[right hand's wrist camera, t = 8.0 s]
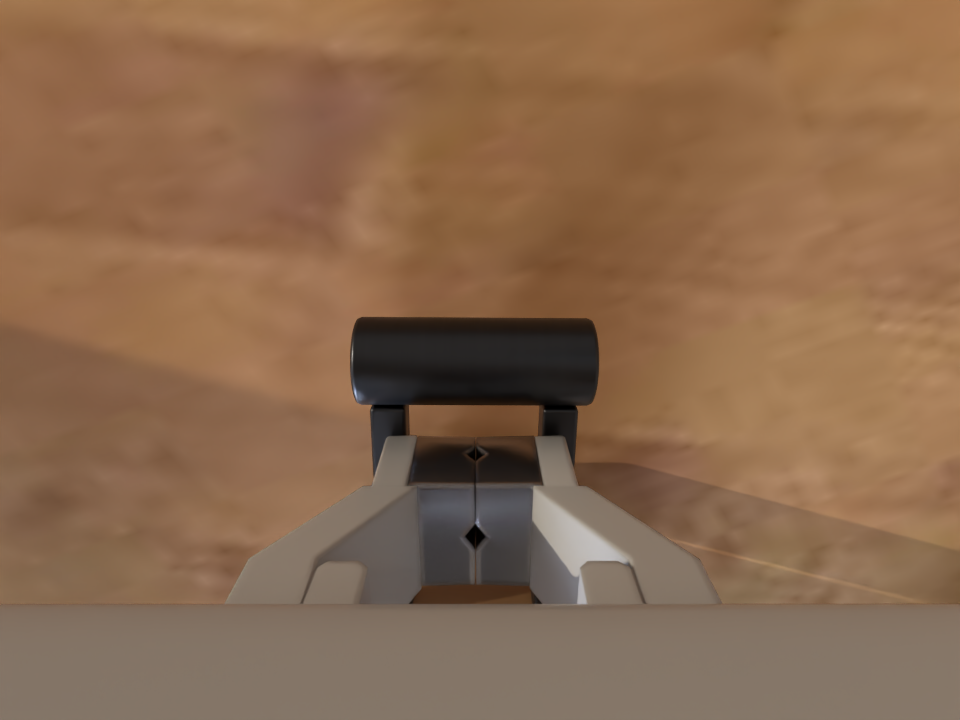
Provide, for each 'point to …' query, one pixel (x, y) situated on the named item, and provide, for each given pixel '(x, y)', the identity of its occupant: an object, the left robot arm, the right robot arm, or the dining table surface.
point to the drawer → (473, 388)
